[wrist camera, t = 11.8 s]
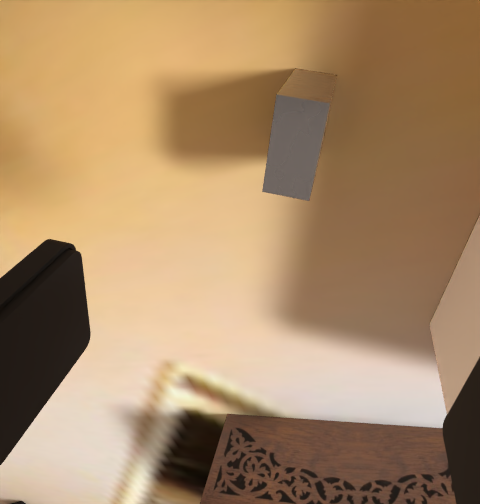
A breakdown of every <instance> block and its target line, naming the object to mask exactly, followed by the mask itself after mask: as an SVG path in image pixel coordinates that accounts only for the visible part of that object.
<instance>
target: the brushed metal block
mask: <svg viewBox="0 0 480 504" xmlns="http://www.w3.org/2000/svg"><path fill="white" fill-rule="evenodd" d="M336 78H337V75H334V74H328V73H321V72H315V71H308V70H302V69H296V68H295V69H294V71H293V72H292V74H291V75H290V76H289V78H288V79H287V81H286V82H285V83H284V85H283V86H282V88H281V89H280V90H279V92H278V93H277V94H276V101H275V108H274V115H273V122H272V129H271V136H270V143H269V149H268V156H267V163H266V170H265V177H264V184H263V191H262V192H267V193H272V194H277V195H282V196H287V197H292V198H297V199H302V200H307V201H309V200H310V195H311V191H312V187H313V182H314V178H315V174H316V170H317V165H318V161H319V157H320V152H321V147H322V143H323V138H324V134H325V129H326V124H327V120H328V115H329V110H330V106H331V101H332V96H333V92H334V87H335V82H336Z"/></svg>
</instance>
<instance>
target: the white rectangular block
mask: <svg viewBox="0 0 480 504" xmlns="http://www.w3.org/2000/svg"><path fill="white" fill-rule="evenodd" d="M429 325H430V330H431V335H432V340H433V346H434V351H435V356H436V361H437V366H438V371H439V376H440V381H441V386H442V391H443V396H444V401H445V406H446V411H447V414H448V412H449V411H450V409H451V407H452V405H453V403H454V402H455V400H456V398H457V396H458V395H459V393H460V391H461V389H462V387H463V386H464V384H465V382H466V380H467V379H468V377H469V375H470V373H471V371H472V370H473V368H474V366H475V364H476V363H477V361H478V359H479V357H480V216H479V218H478V220H477V222H476V224H475V226H474V229H473V231H472V233H471V235H470V237H469V239H468V242H467V244H466V246H465V248H464V250H463V253H462V255H461V257H460V259H459V261H458V263H457V266H456V268H455V270H454V272H453V274H452V276H451V279H450V281H449V283H448V285H447V287H446V290H445V292H444V294H443V296H442V298H441V300H440V303H439V305H438V307H437V309H436V311H435V313H434V316H433V318H432V320H431V322H430V324H429Z"/></svg>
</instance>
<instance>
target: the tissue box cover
mask: <svg viewBox="0 0 480 504" xmlns="http://www.w3.org/2000/svg"><path fill="white" fill-rule="evenodd" d="M200 504H456V500H455V495H454V490H453V485H452V479H451V474H450V469H449V464H448V459H447V454H446V449H445V444H444V439H443V429H442V428H427V427H412V426H398V425H383V424H368V423H353V422H339V421H324V420H309V419H294V418H280V417H265V416H250V415H235V414H227V417H226V420H225V424H224V427H223V430H222V433H221V437H220V440H219V443H218V446H217V450H216V453H215V456H214V459H213V463H212V466H211V469H210V472H209V476H208V479H207V482H206V485H205V489H204V492H203V495H202V498H201V502H200Z"/></svg>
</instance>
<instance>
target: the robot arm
mask: <svg viewBox="0 0 480 504" xmlns="http://www.w3.org/2000/svg"><path fill="white" fill-rule="evenodd" d="M89 340H90V325H89V316H88V308H87V299H86V290H85V282H84V273H83V265H82V257H81V254H80V252H78V251H76V248H75V246H74V245H73V244H70V243H66V242H61V241H56V240H52V239H48V240H46V241H44V242H43V243H42V244H41V245H39V246H38V247H37V248H36V249H35V250H33V251H32V252H31V253H30V254H29V255H27V256H26V257H25V258H24V259H23V260H22V261H20V262H19V263H18V264H17V265H16V266H14V267H13V268H12V269H11V270H10V271H8V272H7V273H6V274H5V275H4V276H2V277H1V278H0V465H1V464H2V463H3V462H4V460H5V459H6V458H7V456H8V455H9V453H10V452H11V451H12V449H13V448H14V447H15V445H16V444H17V442H18V441H19V440H20V438H21V437H22V436H23V434H24V433H25V431H26V430H27V429H28V427H29V426H30V425H31V423H32V422H33V421H34V419H35V418H36V416H37V415H38V414H39V412H40V411H41V410H42V408H43V407H44V405H45V404H46V403H47V401H48V400H49V399H50V397H51V396H52V394H53V393H54V392H55V390H56V389H57V388H58V386H59V385H60V383H61V382H62V381H63V379H64V378H65V377H66V375H67V374H68V372H69V371H70V370H71V368H72V367H73V366H74V364H75V363H76V361H77V360H78V359H79V357H80V356H81V355H82V353H83V352H84V350H85V349H86V347H87V346H88V343H89ZM443 439H444V444H445V449H446V454H447V459H448V464H449V469H450V474H451V479H452V485H453V490H454V495H455V500H456V504H480V357H479V359H478V361H477V363H476V364H475V366H474V368H473V370H472V371H471V373H470V375H469V377H468V379H467V380H466V382H465V384H464V386H463V387H462V389H461V391H460V393H459V395H458V396H457V398H456V400H455V402H454V403H453V405H452V407H451V409H450V411H449V412H448V414H447V416H446V418H445V420H444V423H443Z"/></svg>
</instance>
